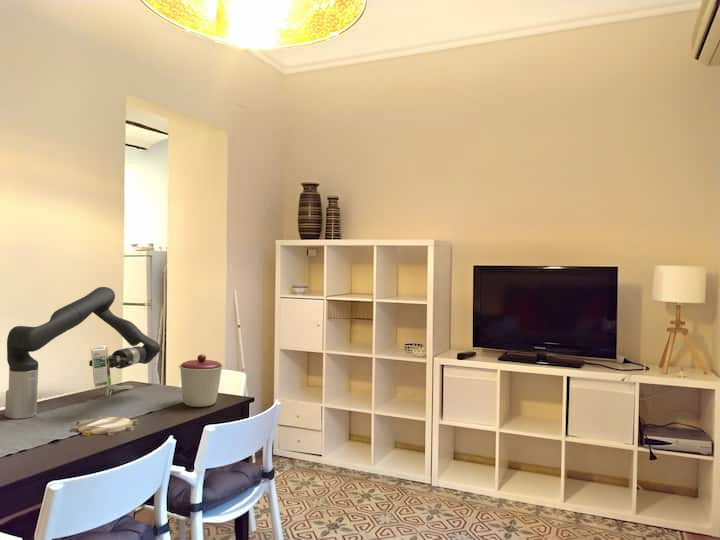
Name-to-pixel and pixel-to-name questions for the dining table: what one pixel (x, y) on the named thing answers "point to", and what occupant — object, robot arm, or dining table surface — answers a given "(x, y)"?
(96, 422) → the sprocket
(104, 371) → the syrup box
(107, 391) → the caliper
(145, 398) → the dining table surface
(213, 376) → the canister
